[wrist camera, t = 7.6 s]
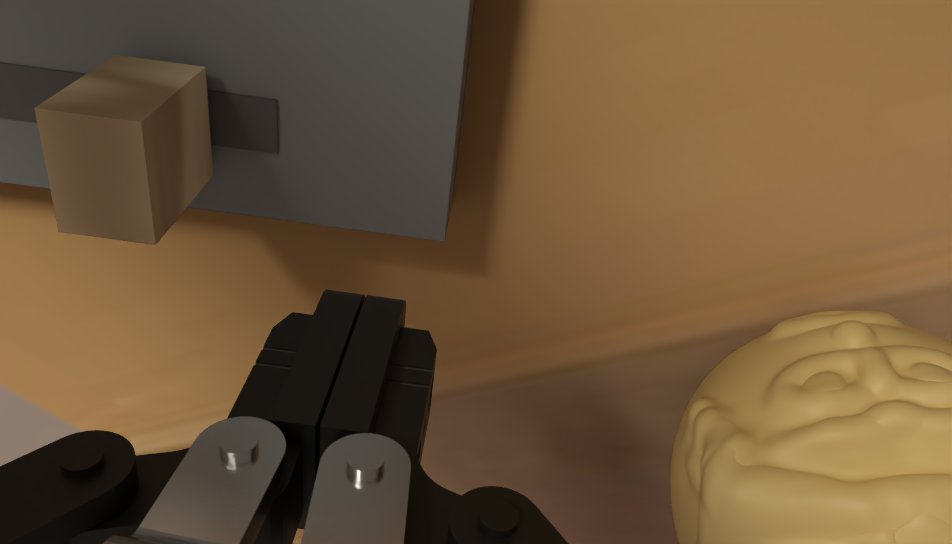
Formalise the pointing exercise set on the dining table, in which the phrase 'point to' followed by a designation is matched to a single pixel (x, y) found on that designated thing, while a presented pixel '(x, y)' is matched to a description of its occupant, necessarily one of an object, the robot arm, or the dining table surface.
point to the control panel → (272, 98)
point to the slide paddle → (127, 148)
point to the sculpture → (820, 438)
